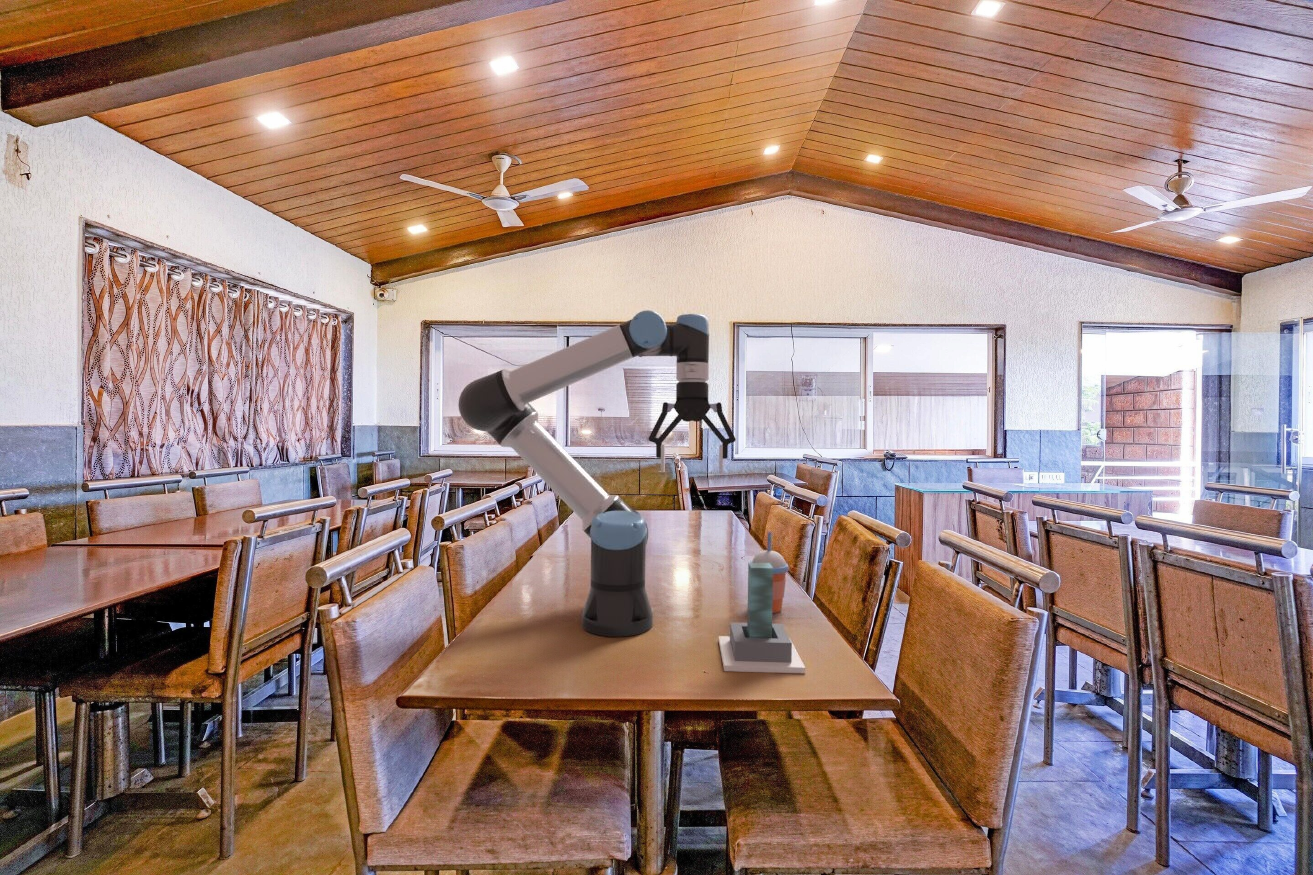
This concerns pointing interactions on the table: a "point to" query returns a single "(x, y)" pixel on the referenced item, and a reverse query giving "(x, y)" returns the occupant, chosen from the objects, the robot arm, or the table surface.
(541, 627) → the table surface
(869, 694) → the table surface
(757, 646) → the socket block
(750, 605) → the peg
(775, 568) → the cup with straw
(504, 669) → the table surface
